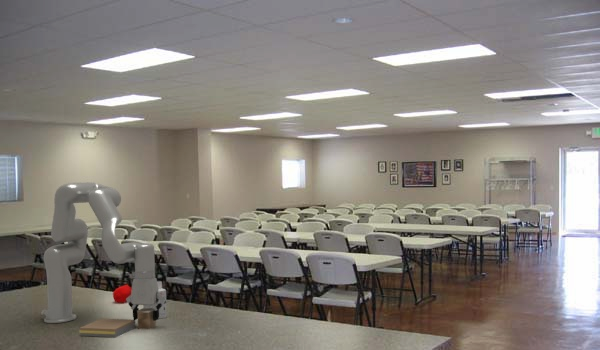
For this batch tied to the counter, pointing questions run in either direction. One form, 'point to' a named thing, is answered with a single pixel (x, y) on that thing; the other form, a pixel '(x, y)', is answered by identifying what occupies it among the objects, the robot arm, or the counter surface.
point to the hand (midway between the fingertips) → (146, 319)
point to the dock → (107, 327)
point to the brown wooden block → (146, 318)
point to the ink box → (163, 293)
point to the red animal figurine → (122, 293)
